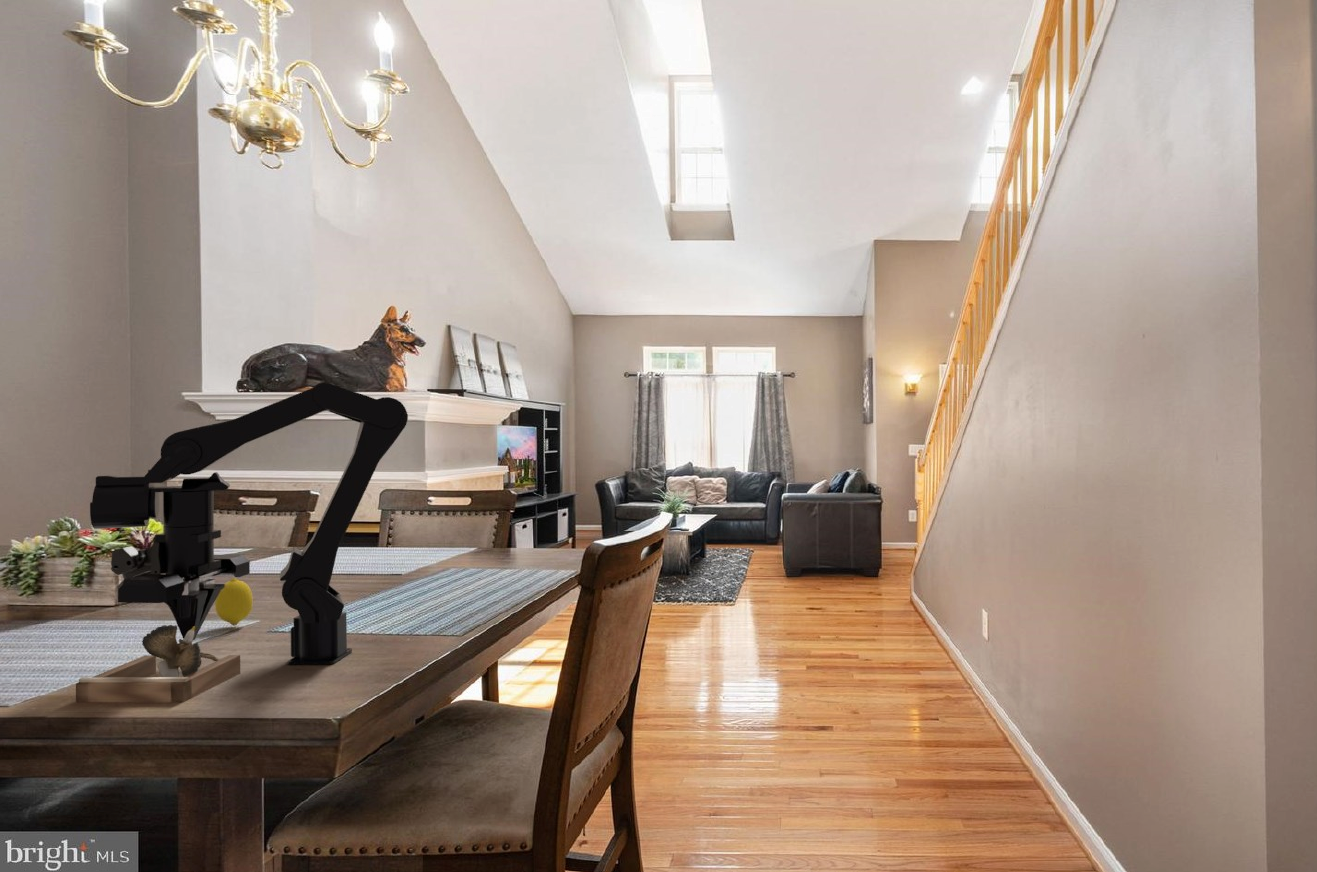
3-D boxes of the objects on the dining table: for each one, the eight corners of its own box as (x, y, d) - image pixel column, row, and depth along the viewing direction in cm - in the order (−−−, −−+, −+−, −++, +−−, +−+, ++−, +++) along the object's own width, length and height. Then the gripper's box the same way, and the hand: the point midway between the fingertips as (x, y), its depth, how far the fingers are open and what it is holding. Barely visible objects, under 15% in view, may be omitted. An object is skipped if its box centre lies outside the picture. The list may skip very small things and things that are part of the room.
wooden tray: (240, 673, 100) (240, 651, 100) (183, 704, 88) (183, 679, 88) (145, 673, 100) (144, 652, 100) (75, 704, 89) (75, 680, 89)
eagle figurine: (229, 630, 102) (211, 631, 93) (211, 684, 100) (191, 690, 91) (168, 619, 100) (144, 620, 91) (148, 674, 98) (122, 680, 89)
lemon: (212, 625, 126) (211, 578, 126) (248, 619, 130) (247, 574, 130) (219, 631, 122) (219, 582, 122) (257, 625, 126) (256, 578, 126)
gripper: (177, 515, 109) (177, 621, 109) (73, 534, 91) (73, 662, 91) (251, 516, 109) (251, 622, 109) (162, 535, 90) (163, 663, 90)
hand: (189, 640), depth 100 cm, fingers closed, pressing on eagle figurine
